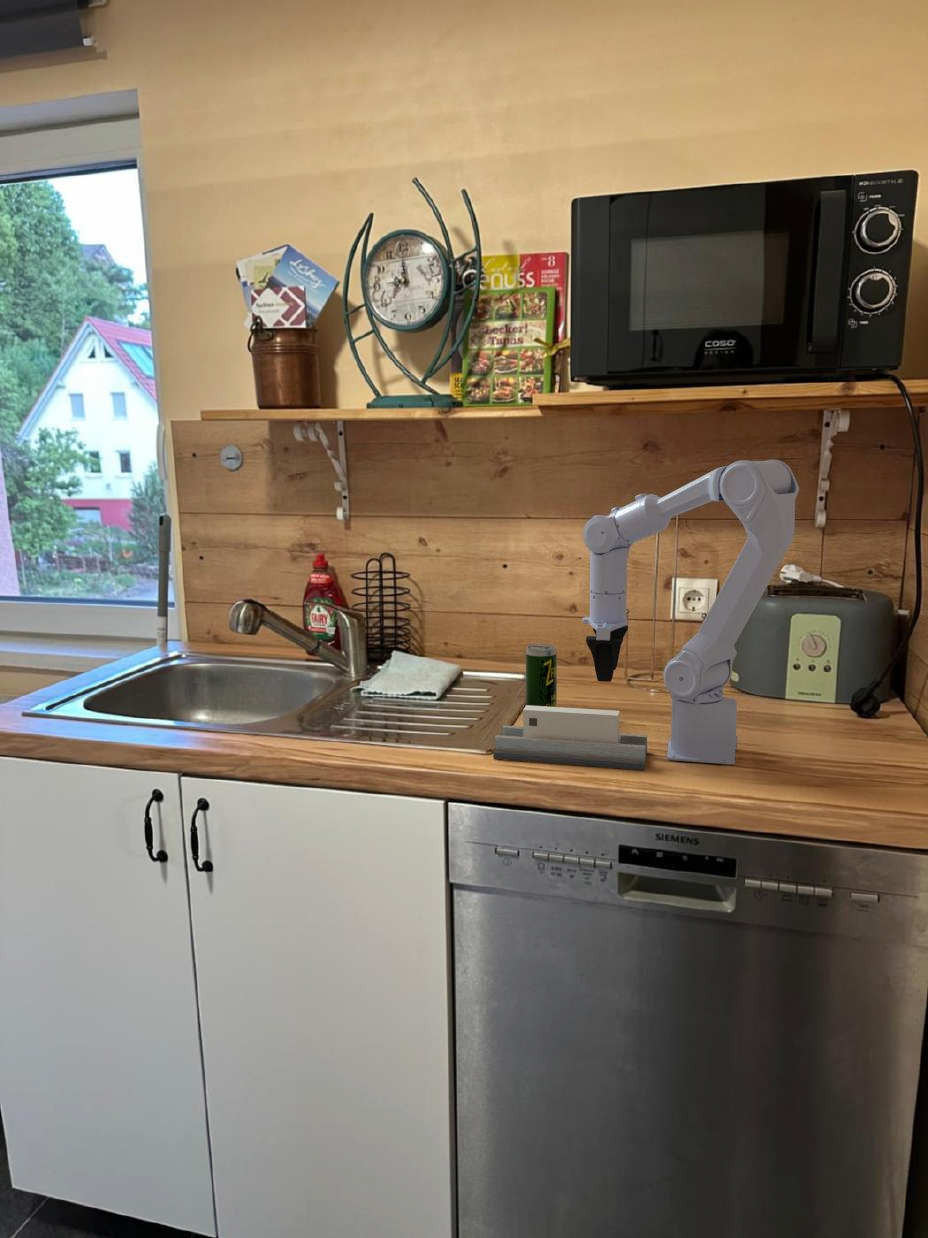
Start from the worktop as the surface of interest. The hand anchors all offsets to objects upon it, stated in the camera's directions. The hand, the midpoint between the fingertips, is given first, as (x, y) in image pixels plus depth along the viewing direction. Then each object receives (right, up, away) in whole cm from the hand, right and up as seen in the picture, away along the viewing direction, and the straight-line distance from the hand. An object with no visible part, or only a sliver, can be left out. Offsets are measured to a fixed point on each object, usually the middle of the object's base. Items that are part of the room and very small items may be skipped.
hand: (607, 675), depth 134 cm
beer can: (-10, -8, +12) cm, 17 cm away
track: (-7, -11, -9) cm, 16 cm away
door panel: (-7, -10, -9) cm, 16 cm away
